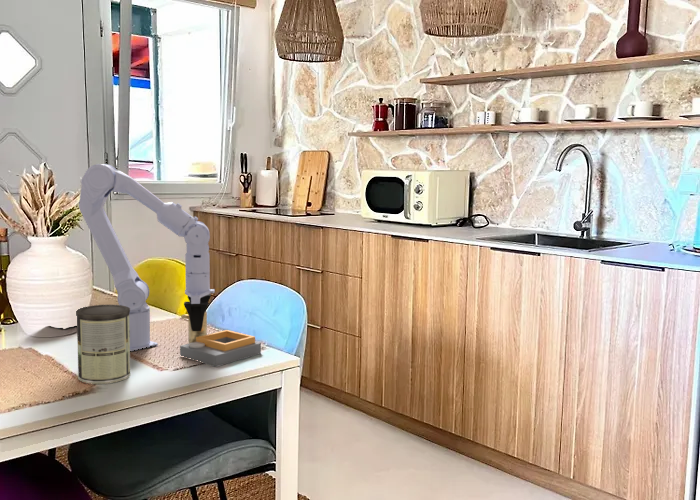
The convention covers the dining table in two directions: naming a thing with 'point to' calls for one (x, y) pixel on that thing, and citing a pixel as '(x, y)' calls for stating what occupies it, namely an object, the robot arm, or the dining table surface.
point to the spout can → (194, 334)
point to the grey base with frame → (221, 348)
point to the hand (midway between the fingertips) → (198, 327)
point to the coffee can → (103, 343)
